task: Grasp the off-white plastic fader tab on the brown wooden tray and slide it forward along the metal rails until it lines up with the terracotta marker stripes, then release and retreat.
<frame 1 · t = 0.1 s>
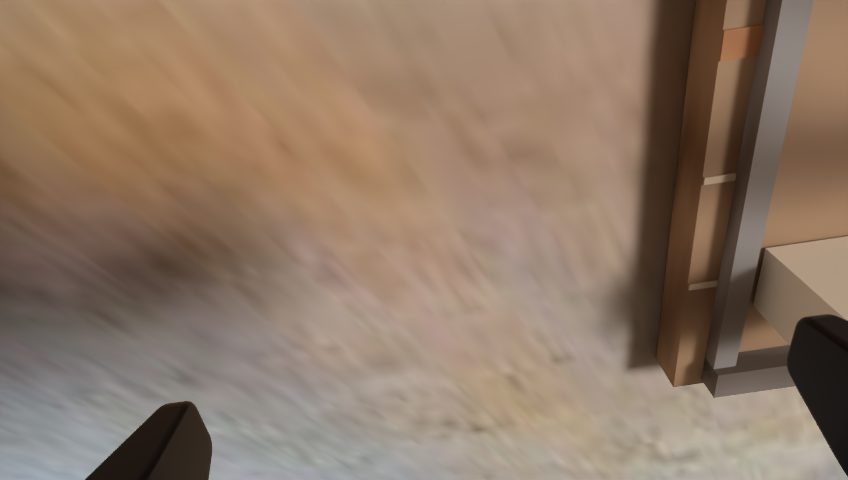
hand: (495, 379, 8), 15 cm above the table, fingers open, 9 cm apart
brown wooden tray: (799, 142, 23), on the table
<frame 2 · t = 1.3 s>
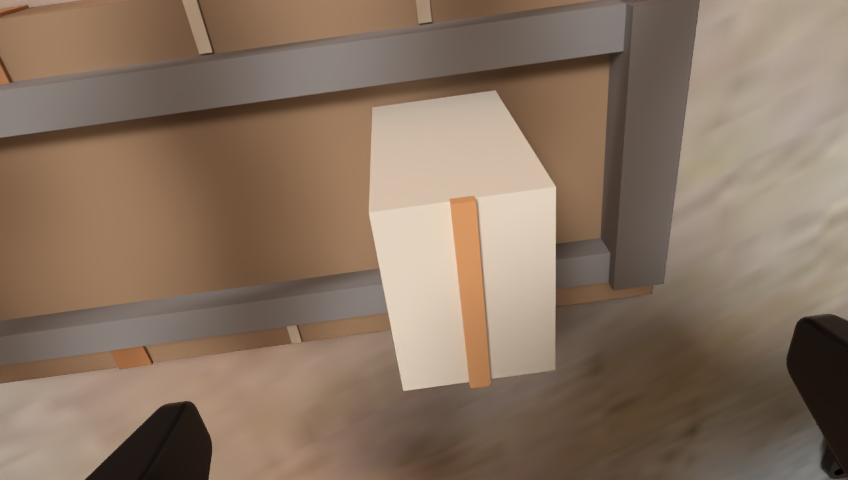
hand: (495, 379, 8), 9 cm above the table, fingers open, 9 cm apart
fader: (454, 226, 12), point 5 cm above the table, slide at -5.0 cm
brown wooden tray: (265, 168, 16), on the table
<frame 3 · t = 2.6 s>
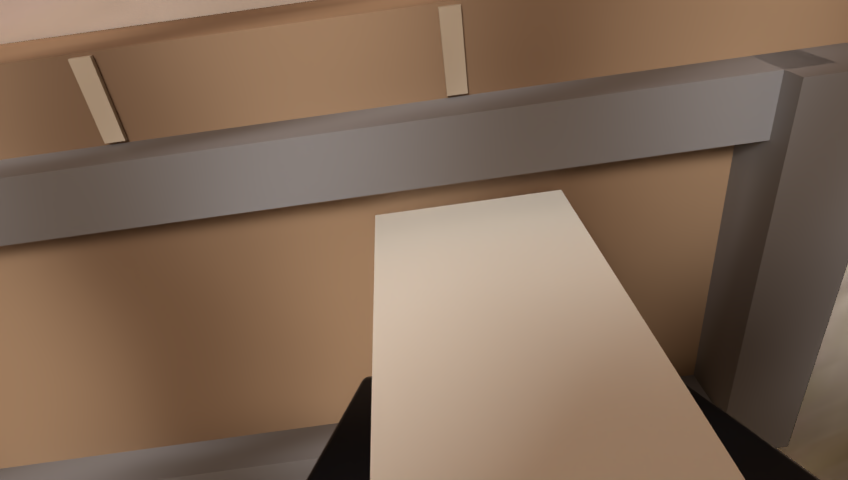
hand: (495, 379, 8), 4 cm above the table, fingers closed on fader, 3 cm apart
fader: (506, 425, 8), point 5 cm above the table, slide at -5.0 cm, touching gripper
brown wooden tray: (227, 273, 12), on the table
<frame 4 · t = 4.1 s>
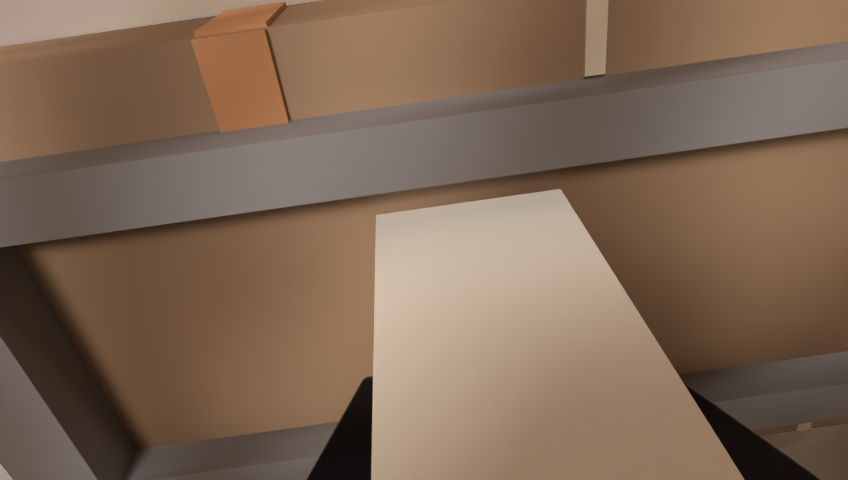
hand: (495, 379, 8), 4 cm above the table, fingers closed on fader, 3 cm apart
fader: (507, 422, 8), point 5 cm above the table, slide at 2.0 cm, touching gripper
brown wooden tray: (556, 227, 12), on the table
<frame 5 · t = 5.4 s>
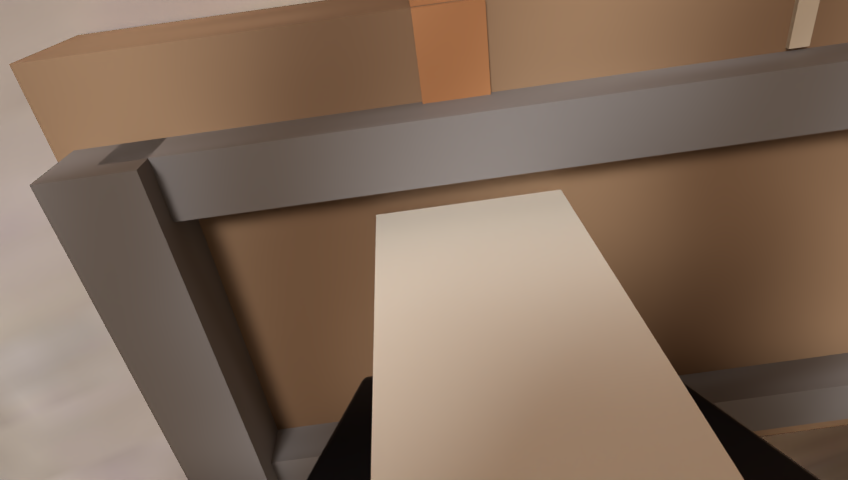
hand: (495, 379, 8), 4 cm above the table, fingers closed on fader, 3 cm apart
fader: (506, 423, 8), point 5 cm above the table, slide at 5.0 cm, touching gripper
brown wooden tray: (696, 208, 12), on the table
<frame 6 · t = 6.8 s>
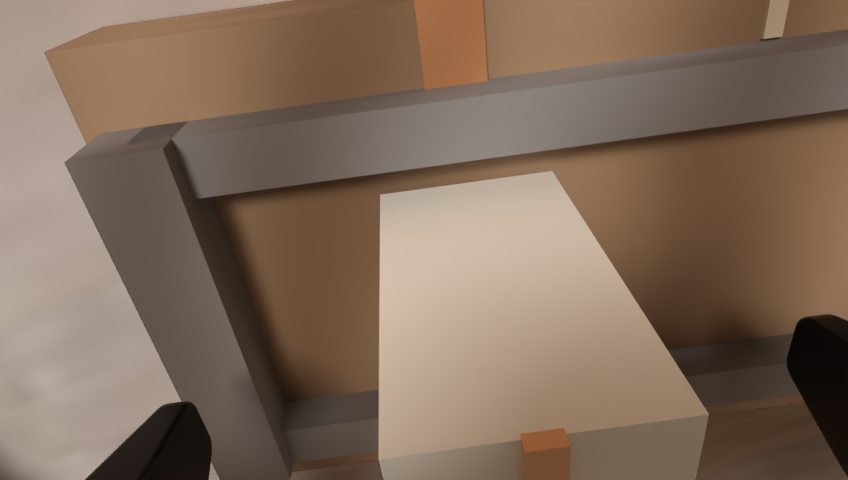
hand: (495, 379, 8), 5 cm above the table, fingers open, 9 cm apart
fader: (501, 383, 8), point 5 cm above the table, slide at 5.0 cm
brown wooden tray: (682, 193, 12), on the table
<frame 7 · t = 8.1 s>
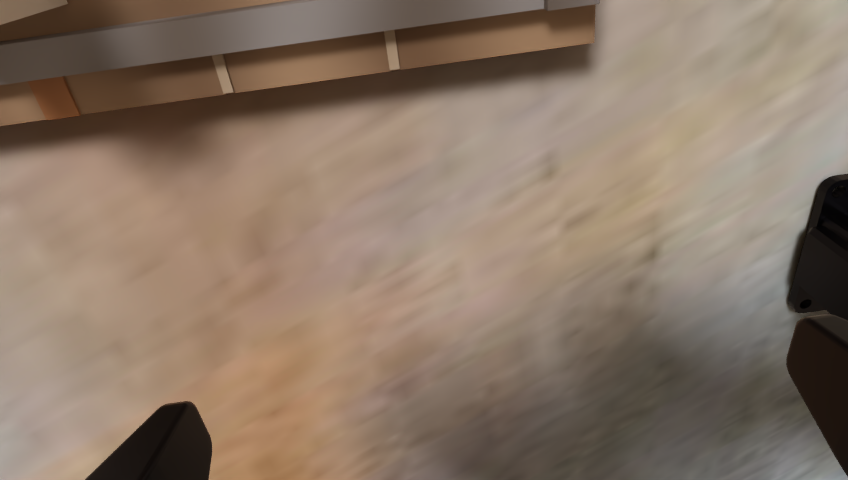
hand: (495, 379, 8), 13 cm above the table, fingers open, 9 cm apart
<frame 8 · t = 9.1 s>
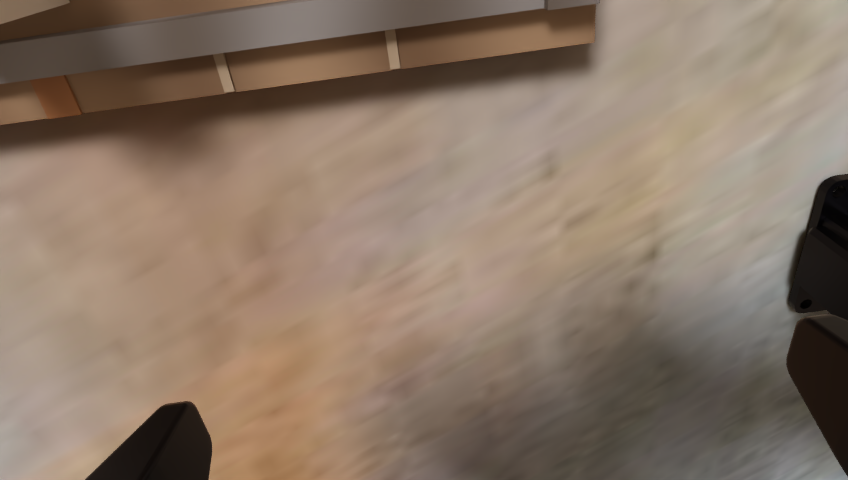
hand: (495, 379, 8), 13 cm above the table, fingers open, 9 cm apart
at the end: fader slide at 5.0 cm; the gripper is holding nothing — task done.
